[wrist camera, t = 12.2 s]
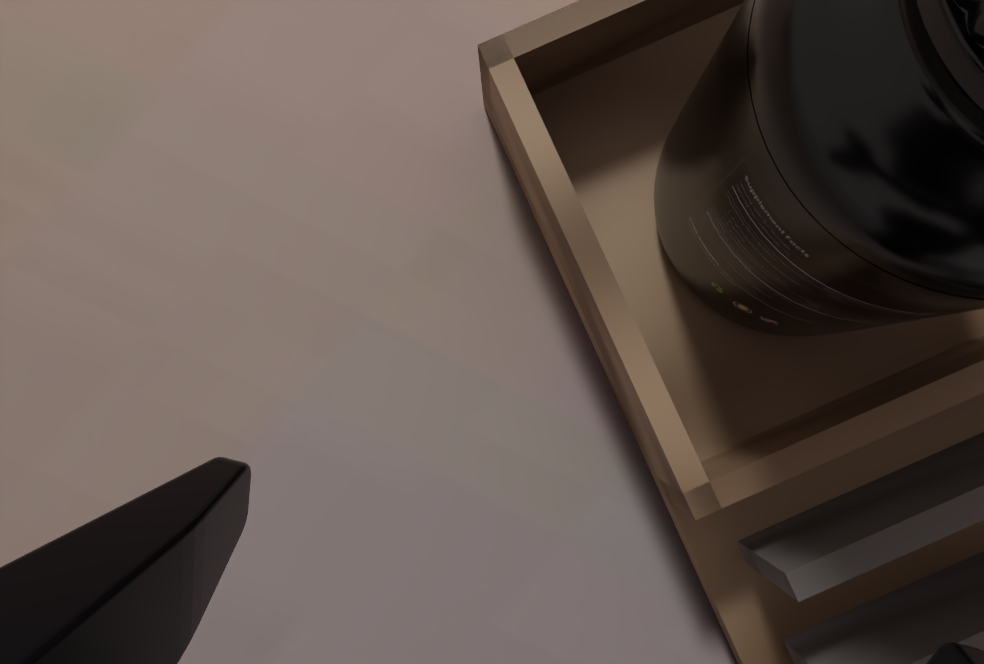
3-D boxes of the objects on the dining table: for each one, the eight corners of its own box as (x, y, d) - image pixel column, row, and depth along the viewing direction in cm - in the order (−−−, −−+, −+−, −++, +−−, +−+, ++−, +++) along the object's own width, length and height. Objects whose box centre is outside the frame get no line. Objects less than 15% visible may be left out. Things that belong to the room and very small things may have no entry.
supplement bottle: (734, 23, 18) (1171, -704, 6) (974, 160, 18) (1957, -333, 6) (592, 249, 18) (763, -52, 6) (833, 395, 17) (1573, 404, 5)
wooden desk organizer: (1236, 647, 17) (1441, 719, 13) (815, 835, 17) (901, 961, 13) (866, -64, 19) (955, -177, 15) (484, 105, 19) (476, 33, 15)
